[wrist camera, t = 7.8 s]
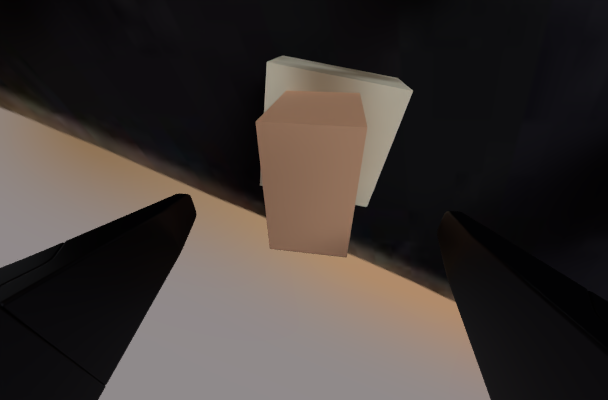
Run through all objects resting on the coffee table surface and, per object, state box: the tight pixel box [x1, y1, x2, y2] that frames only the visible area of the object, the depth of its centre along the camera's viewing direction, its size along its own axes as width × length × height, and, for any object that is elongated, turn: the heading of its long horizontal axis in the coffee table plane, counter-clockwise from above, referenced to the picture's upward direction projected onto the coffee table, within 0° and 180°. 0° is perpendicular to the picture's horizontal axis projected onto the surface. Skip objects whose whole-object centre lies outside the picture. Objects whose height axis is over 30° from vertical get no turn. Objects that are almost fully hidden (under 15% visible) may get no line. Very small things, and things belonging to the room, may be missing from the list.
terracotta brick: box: [256, 90, 367, 257], centre depth 11 cm, size 4×6×5 cm, turn 179°
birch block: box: [260, 56, 413, 207], centre depth 15 cm, size 7×7×4 cm
